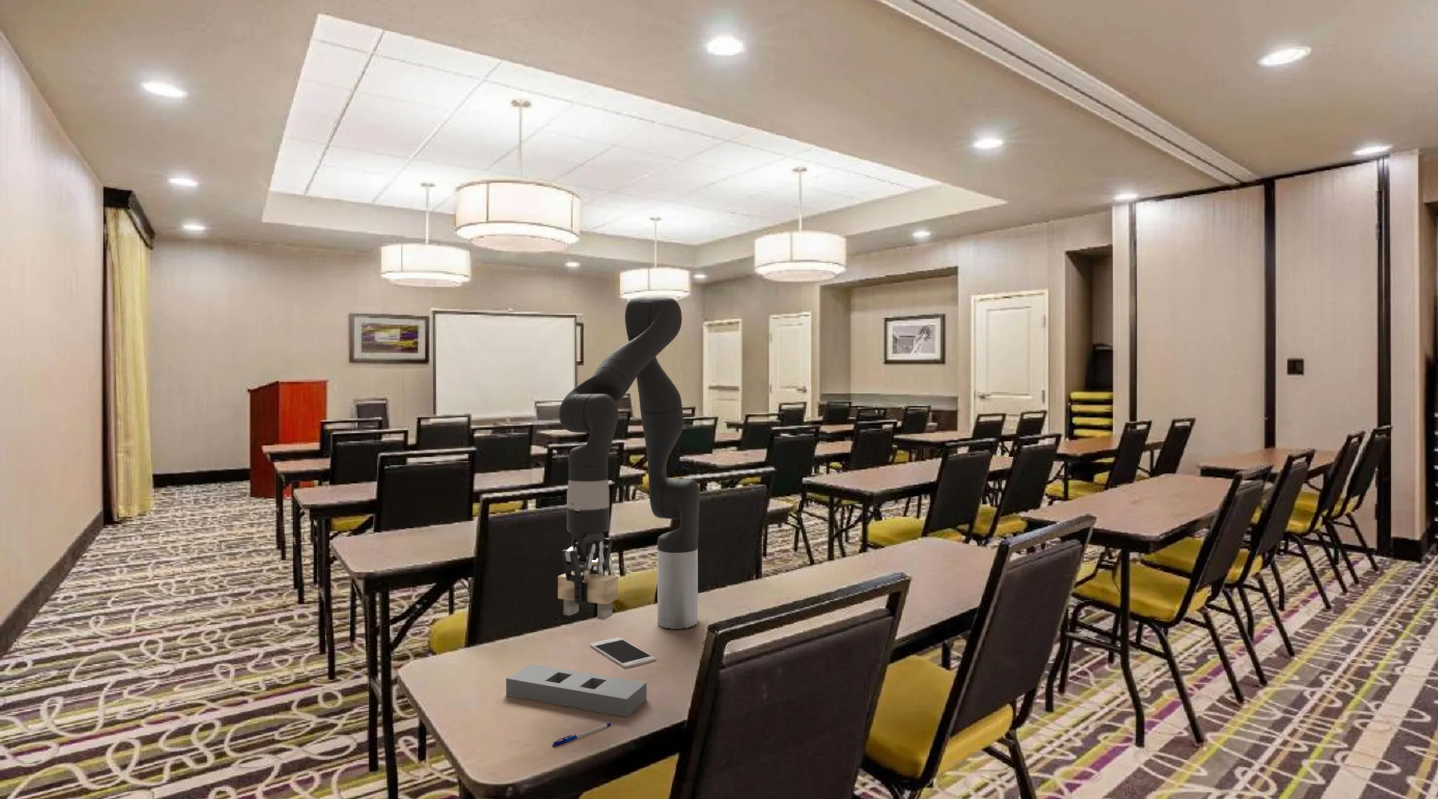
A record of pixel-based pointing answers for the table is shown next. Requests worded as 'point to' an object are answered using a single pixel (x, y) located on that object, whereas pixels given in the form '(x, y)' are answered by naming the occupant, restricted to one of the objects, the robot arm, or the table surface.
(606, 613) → the tan rectangular block
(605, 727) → the ballpoint pen
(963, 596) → the table surface
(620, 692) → the slotted rail
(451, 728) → the table surface
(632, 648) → the smartphone
